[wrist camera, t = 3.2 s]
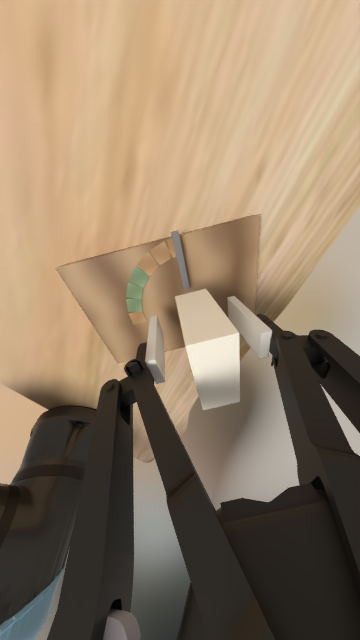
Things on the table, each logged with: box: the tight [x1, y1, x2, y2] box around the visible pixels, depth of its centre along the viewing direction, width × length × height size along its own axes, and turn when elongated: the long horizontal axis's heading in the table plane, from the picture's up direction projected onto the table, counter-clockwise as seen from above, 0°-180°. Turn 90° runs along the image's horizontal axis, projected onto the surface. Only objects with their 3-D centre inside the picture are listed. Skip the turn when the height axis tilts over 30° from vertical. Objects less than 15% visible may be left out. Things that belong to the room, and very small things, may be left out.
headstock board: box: [56, 214, 261, 363], centre depth 20 cm, size 22×15×2 cm
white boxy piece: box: [171, 231, 240, 410], centre depth 13 cm, size 3×12×11 cm, turn 13°
